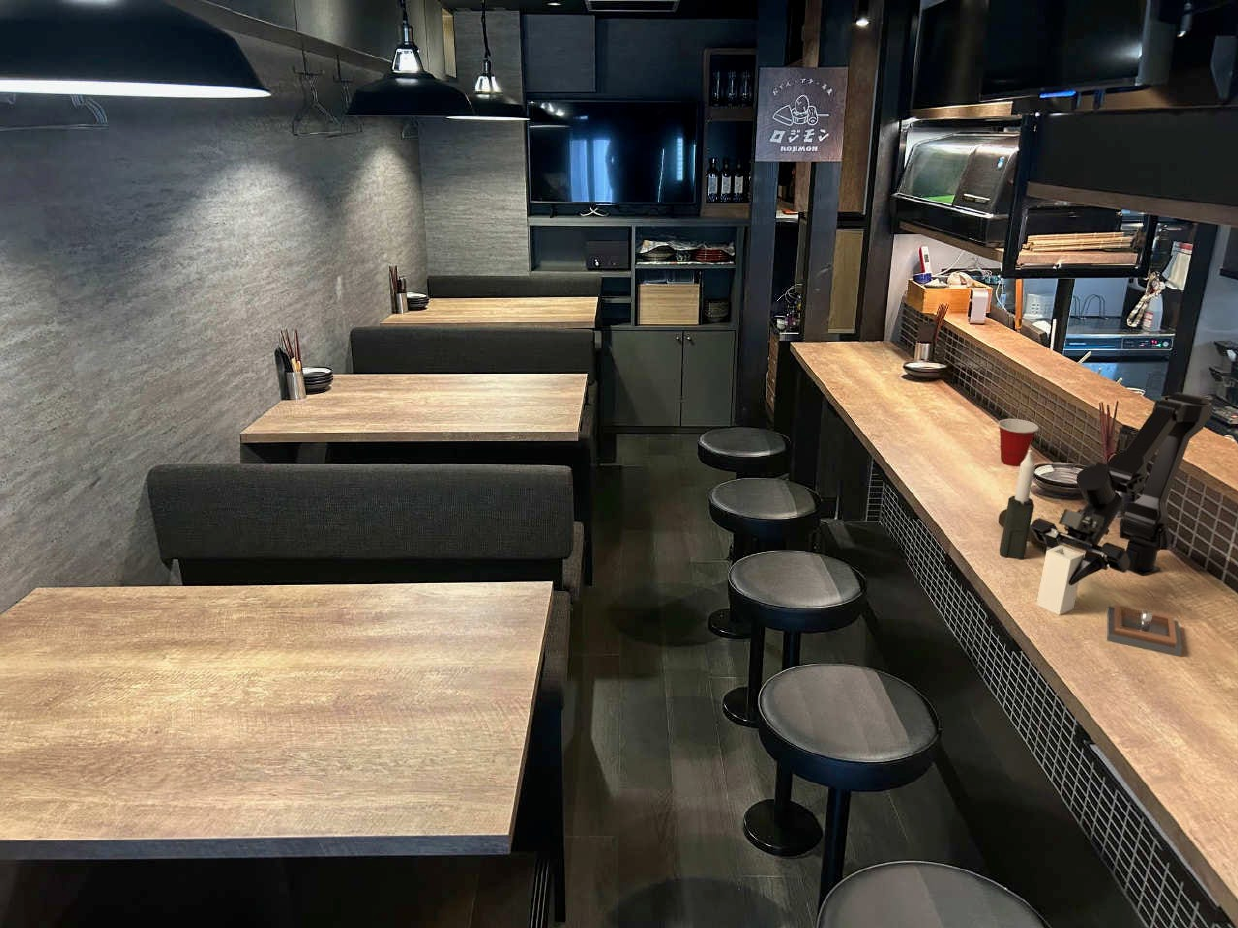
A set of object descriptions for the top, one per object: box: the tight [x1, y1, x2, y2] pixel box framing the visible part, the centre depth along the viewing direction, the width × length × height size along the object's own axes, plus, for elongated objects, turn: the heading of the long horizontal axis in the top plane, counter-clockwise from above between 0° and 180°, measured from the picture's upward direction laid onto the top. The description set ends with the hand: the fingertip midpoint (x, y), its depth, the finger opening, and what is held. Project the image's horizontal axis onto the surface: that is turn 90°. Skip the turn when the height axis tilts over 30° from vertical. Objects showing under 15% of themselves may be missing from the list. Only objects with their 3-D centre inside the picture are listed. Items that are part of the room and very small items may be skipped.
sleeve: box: [1035, 544, 1085, 616], centre depth 183 cm, size 5×5×12 cm
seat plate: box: [1106, 605, 1183, 658], centre depth 175 cm, size 12×12×4 cm
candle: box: [999, 449, 1036, 561], centre depth 205 cm, size 5×5×25 cm
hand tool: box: [998, 508, 1047, 554], centre depth 217 cm, size 19×4×5 cm, turn 14°
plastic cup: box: [997, 418, 1039, 467], centre depth 267 cm, size 11×11×12 cm
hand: (1056, 578), depth 182 cm, fingers open, 5 cm apart
